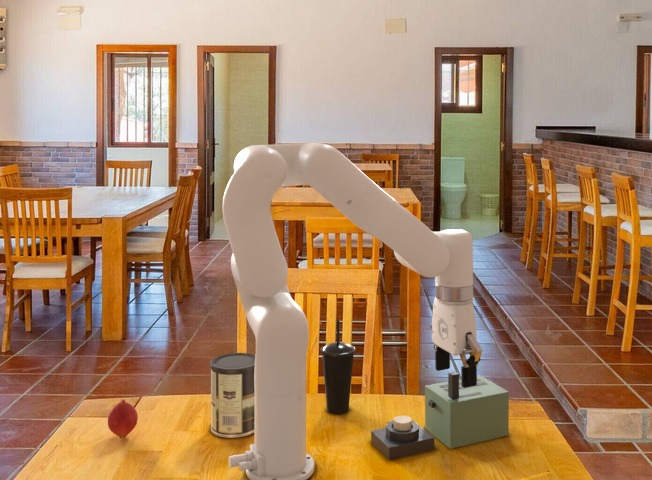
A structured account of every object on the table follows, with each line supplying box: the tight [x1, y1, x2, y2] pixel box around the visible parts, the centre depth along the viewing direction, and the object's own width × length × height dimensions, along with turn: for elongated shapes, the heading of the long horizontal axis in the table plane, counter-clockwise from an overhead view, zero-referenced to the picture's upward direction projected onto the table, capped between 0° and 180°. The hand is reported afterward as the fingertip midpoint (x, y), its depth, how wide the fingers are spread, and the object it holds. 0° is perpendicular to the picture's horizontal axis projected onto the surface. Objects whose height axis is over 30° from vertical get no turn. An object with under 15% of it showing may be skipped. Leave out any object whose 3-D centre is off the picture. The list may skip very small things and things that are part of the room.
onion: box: [107, 398, 139, 439], centre depth 144 cm, size 6×6×8 cm
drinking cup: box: [320, 319, 356, 415], centre depth 157 cm, size 8×8×20 cm
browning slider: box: [447, 371, 460, 399], centre depth 141 cm, size 2×2×5 cm
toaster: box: [424, 375, 510, 449], centre depth 146 cm, size 15×10×9 cm
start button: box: [392, 415, 413, 431], centre depth 140 cm, size 4×4×2 cm
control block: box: [370, 419, 435, 461], centre depth 140 cm, size 10×8×4 cm
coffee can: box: [209, 352, 256, 439], centre depth 148 cm, size 10×10×14 cm
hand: (455, 377), depth 141 cm, fingers open, 9 cm apart
